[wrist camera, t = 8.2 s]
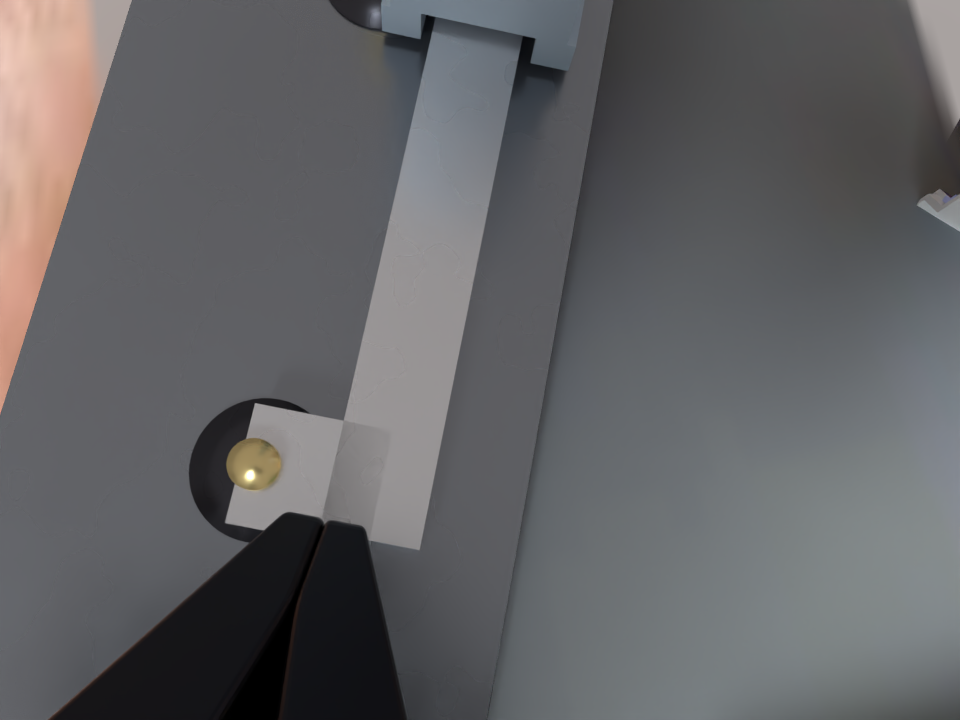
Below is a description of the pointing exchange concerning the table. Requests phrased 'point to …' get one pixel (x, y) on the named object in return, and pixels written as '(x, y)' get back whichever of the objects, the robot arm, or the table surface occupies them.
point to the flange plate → (293, 329)
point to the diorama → (943, 205)
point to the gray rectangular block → (498, 22)
